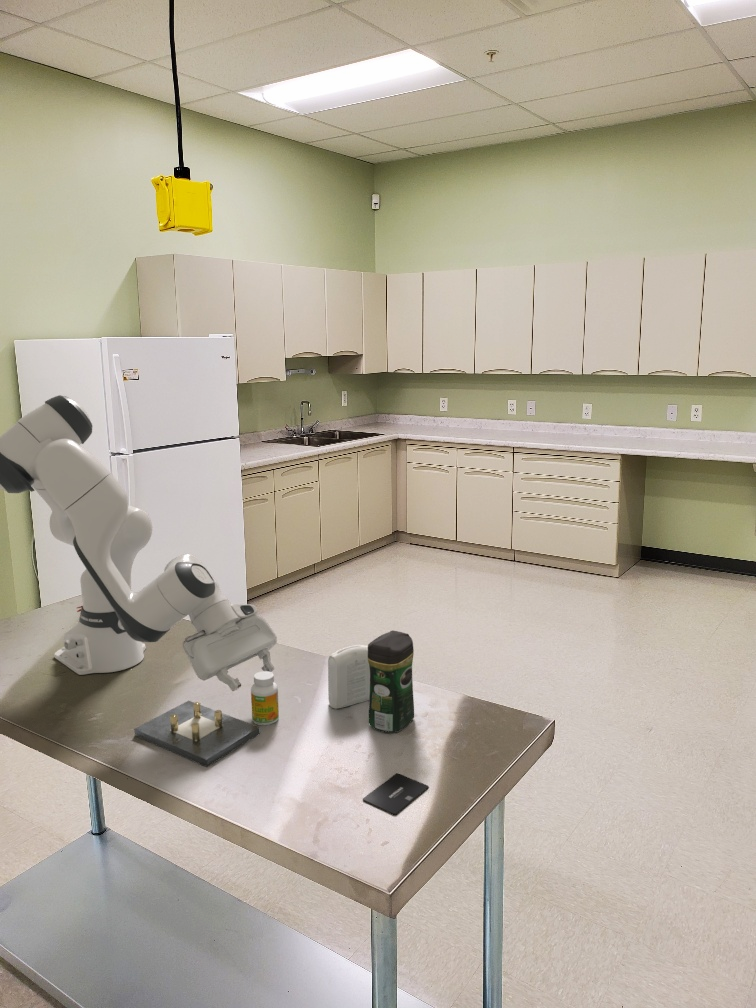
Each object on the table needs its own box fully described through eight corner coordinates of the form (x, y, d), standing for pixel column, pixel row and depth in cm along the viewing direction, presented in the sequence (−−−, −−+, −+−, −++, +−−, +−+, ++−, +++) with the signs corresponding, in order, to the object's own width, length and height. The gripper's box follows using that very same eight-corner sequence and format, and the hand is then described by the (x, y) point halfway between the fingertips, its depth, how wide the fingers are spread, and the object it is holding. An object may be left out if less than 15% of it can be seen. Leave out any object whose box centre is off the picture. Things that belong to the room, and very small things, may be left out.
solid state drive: (429, 789, 133) (429, 785, 133) (395, 818, 125) (395, 814, 125) (396, 775, 137) (397, 772, 137) (361, 802, 130) (361, 799, 129)
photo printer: (366, 691, 169) (365, 638, 166) (377, 698, 165) (376, 645, 162) (325, 703, 163) (324, 649, 160) (335, 711, 159) (334, 656, 157)
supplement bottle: (252, 727, 154) (250, 682, 151) (252, 714, 159) (250, 670, 157) (279, 724, 154) (277, 680, 152) (278, 712, 160) (276, 668, 157)
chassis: (134, 735, 151) (133, 714, 150) (189, 707, 162) (187, 687, 161) (206, 767, 140) (205, 744, 139) (259, 734, 151) (258, 713, 150)
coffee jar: (386, 707, 161) (385, 624, 157) (419, 717, 157) (420, 632, 153) (361, 728, 153) (360, 640, 149) (395, 738, 149) (395, 649, 145)
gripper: (185, 632, 149) (223, 692, 145) (260, 602, 165) (295, 655, 162) (171, 648, 152) (208, 707, 149) (246, 617, 169) (280, 670, 165)
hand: (254, 680), depth 155 cm, fingers open, 8 cm apart
